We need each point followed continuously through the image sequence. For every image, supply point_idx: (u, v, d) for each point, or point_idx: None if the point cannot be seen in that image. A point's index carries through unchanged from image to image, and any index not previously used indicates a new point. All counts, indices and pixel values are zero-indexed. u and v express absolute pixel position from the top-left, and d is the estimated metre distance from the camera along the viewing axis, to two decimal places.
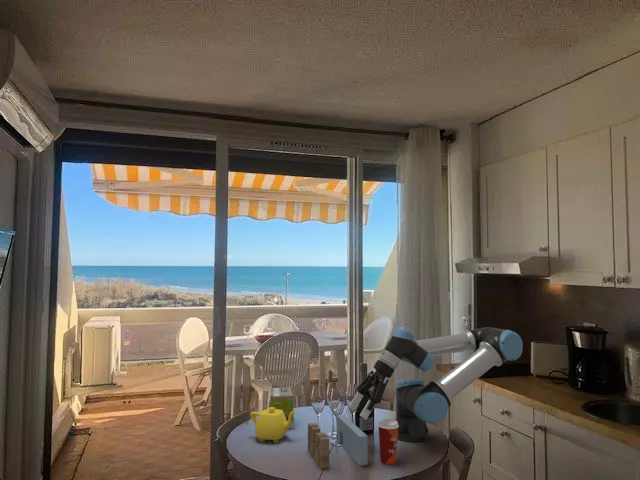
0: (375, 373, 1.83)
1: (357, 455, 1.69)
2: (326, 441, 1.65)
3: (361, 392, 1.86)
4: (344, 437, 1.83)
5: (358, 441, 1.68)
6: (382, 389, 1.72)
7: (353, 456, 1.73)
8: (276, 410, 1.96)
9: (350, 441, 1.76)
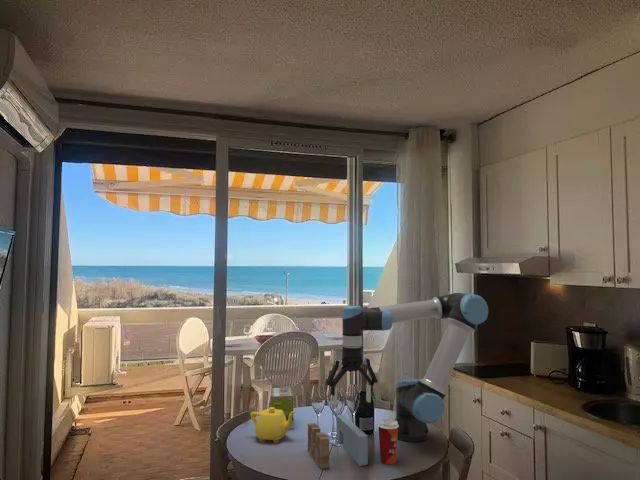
0: None
1: (357, 455, 1.69)
2: (326, 441, 1.65)
3: None
4: (344, 437, 1.83)
5: (358, 441, 1.68)
6: (332, 371, 1.78)
7: (353, 456, 1.73)
8: (276, 410, 1.96)
9: (350, 441, 1.76)
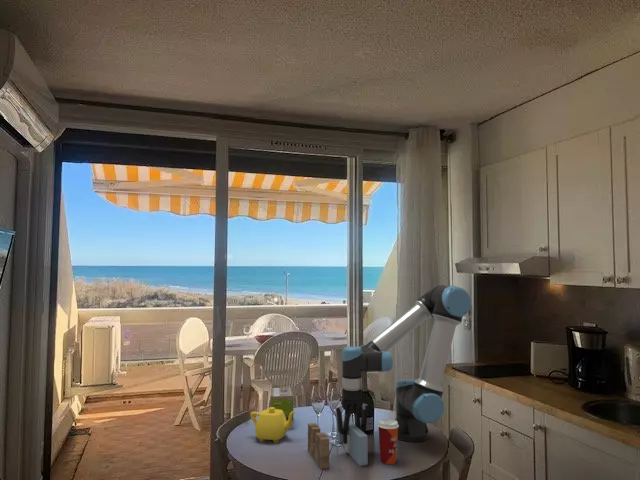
0: None
1: (357, 455, 1.69)
2: (326, 441, 1.65)
3: None
4: None
5: (358, 441, 1.68)
6: (338, 419, 1.77)
7: (353, 456, 1.73)
8: (276, 410, 1.96)
9: (350, 441, 1.76)
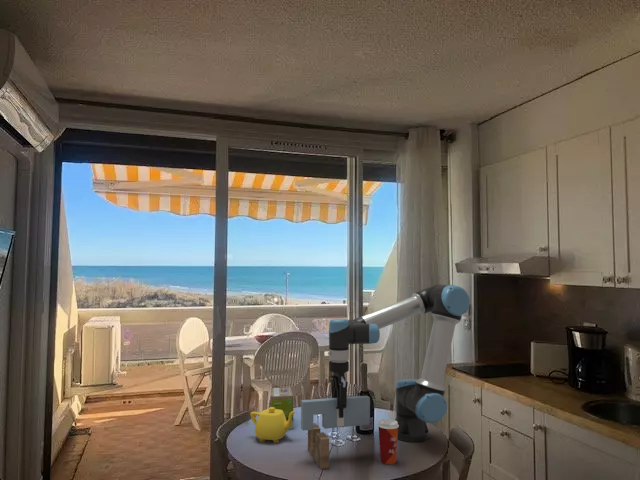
0: None
1: (364, 416, 1.77)
2: (326, 441, 1.65)
3: None
4: (328, 416, 1.73)
5: (367, 402, 1.78)
6: (344, 394, 1.71)
7: (354, 423, 1.76)
8: (276, 410, 1.96)
9: (344, 413, 1.75)
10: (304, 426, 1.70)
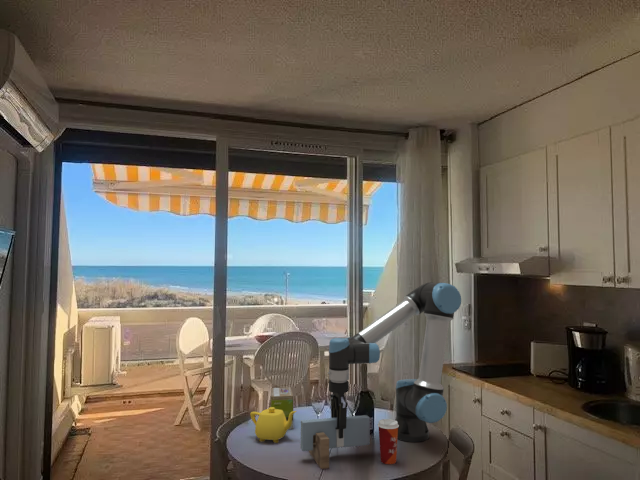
0: None
1: (364, 437, 1.76)
2: (326, 441, 1.65)
3: None
4: None
5: (367, 422, 1.77)
6: (344, 415, 1.71)
7: (353, 443, 1.75)
8: (276, 410, 1.96)
9: (344, 433, 1.74)
10: (304, 447, 1.70)
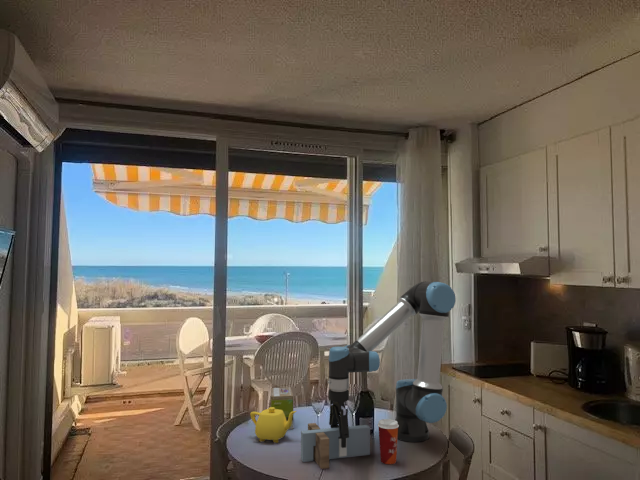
0: None
1: (365, 447, 1.76)
2: (326, 441, 1.65)
3: (334, 427, 1.80)
4: None
5: (368, 432, 1.77)
6: (345, 422, 1.69)
7: (354, 453, 1.75)
8: (276, 410, 1.96)
9: None
10: (304, 457, 1.70)
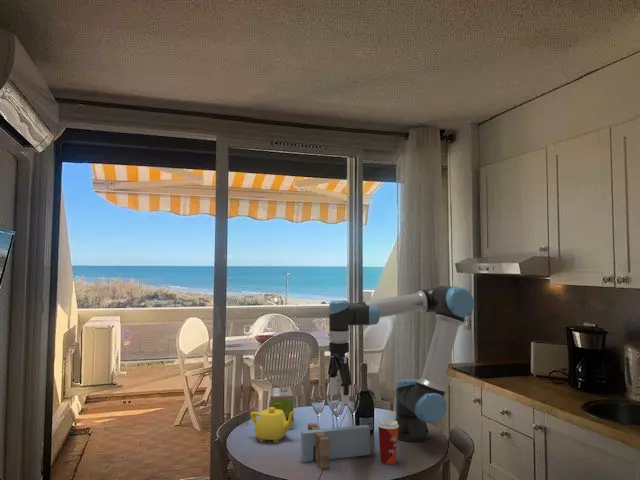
0: (334, 355, 1.79)
1: (365, 447, 1.76)
2: (326, 441, 1.65)
3: (333, 375, 1.84)
4: None
5: (368, 432, 1.77)
6: (347, 370, 1.70)
7: (354, 453, 1.75)
8: (276, 410, 1.96)
9: (344, 443, 1.74)
10: (304, 457, 1.70)
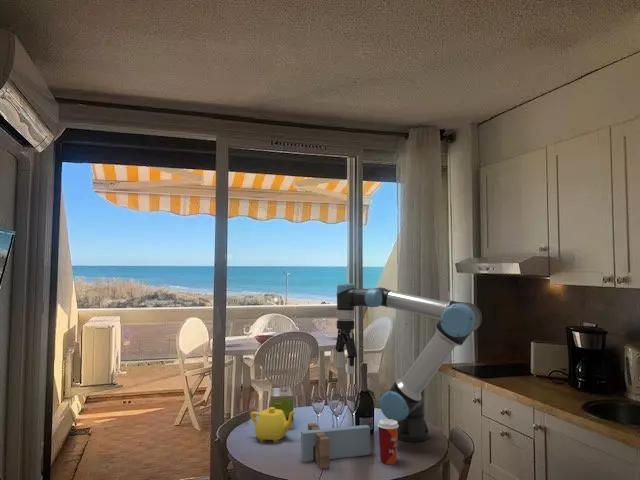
0: (341, 331, 2.02)
1: (365, 447, 1.76)
2: (326, 441, 1.65)
3: (340, 350, 2.07)
4: None
5: (368, 432, 1.77)
6: (352, 344, 1.93)
7: (354, 453, 1.75)
8: (276, 410, 1.96)
9: (344, 443, 1.74)
10: (304, 457, 1.70)
